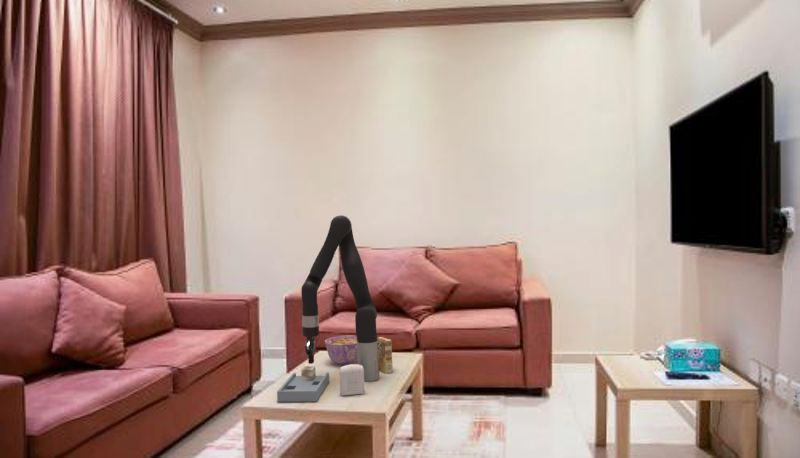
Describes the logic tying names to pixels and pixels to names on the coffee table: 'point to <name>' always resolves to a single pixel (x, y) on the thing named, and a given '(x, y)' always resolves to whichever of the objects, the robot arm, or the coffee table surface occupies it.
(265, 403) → the coffee table surface
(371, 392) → the coffee table surface
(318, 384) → the track
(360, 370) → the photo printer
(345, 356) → the bowl of food
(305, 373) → the cream cube
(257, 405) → the coffee table surface
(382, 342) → the candy box
